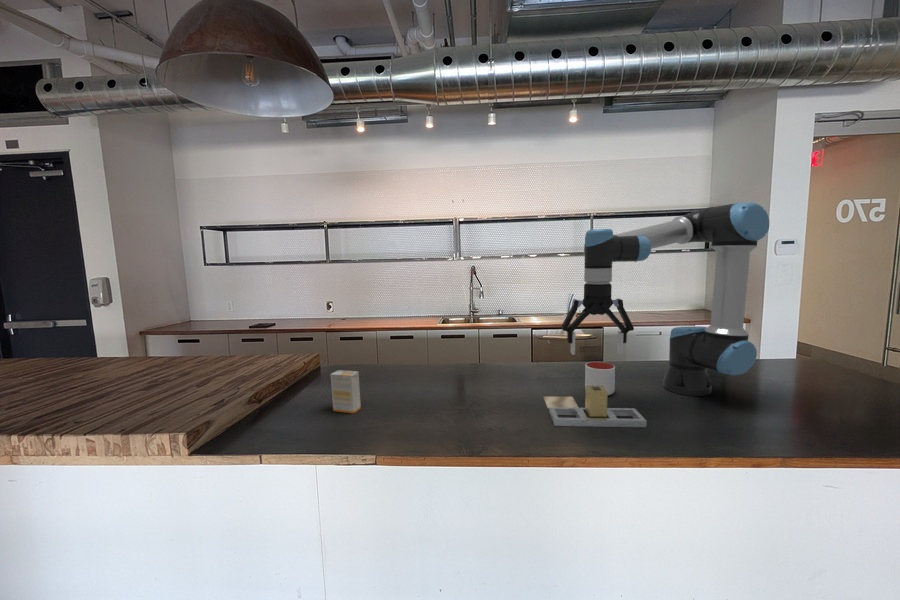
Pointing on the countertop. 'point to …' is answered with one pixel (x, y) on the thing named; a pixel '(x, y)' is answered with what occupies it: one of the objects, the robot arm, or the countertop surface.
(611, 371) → the cup
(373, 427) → the countertop surface
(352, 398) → the supplement box
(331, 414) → the countertop surface
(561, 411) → the grey slotted tray
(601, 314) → the robot arm
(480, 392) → the countertop surface
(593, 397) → the tall beige post
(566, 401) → the coaster
